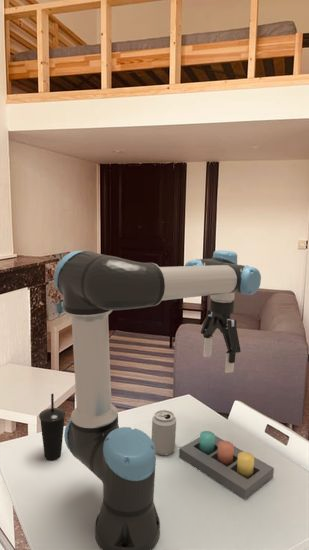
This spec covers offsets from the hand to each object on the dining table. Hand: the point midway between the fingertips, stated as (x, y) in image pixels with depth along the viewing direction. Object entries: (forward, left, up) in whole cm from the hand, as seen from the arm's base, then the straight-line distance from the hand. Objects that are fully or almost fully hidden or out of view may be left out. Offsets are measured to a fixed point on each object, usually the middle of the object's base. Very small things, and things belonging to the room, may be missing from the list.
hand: (217, 364), depth 130 cm
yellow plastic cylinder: (-10, -19, -23) cm, 31 cm away
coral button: (-10, -12, -23) cm, 28 cm away
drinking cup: (-46, +25, -26) cm, 58 cm away
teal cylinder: (-10, -5, -24) cm, 26 cm away
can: (-18, +6, -26) cm, 32 cm away
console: (-10, -12, -26) cm, 30 cm away
